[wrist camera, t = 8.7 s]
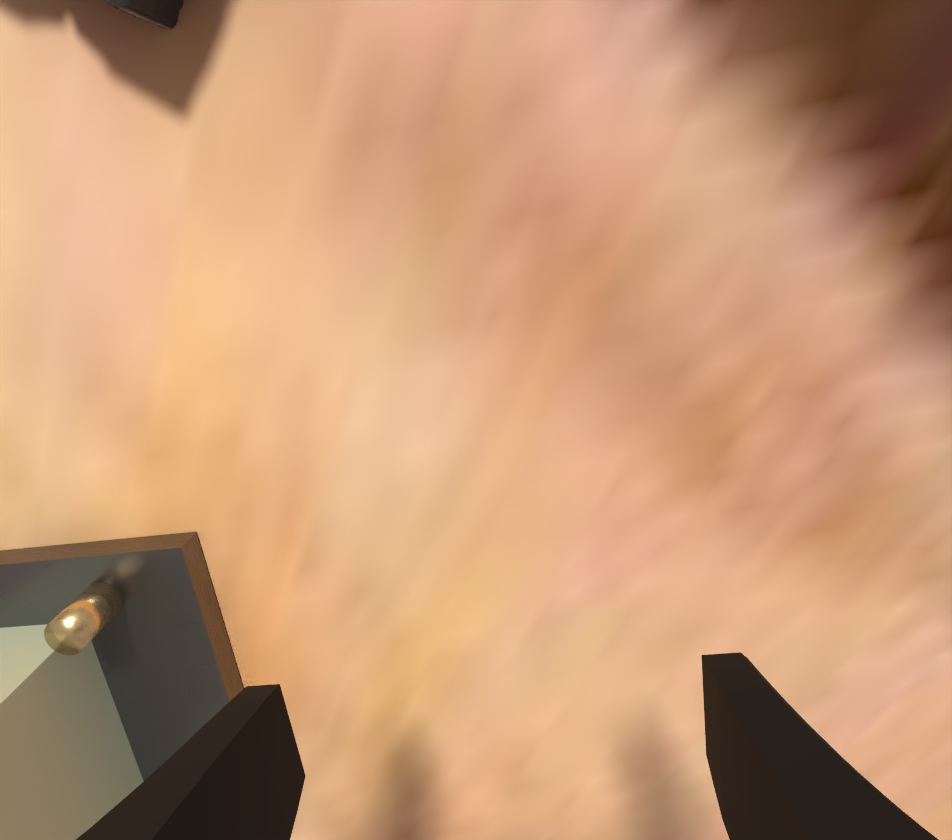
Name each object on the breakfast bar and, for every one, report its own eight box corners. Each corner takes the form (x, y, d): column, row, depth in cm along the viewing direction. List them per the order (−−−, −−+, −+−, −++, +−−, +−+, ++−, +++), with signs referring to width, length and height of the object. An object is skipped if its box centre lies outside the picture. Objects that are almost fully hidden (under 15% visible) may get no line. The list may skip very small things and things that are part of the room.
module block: (84, 621, 22) (-70, 772, 16) (154, 811, 25) (43, 1000, 19) (-30, 630, 23) (-217, 780, 17) (51, 816, 25) (-88, 1001, 19)
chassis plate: (289, 839, 26) (259, 919, 23) (-1, 851, 27) (-63, 929, 24) (196, 531, 22) (146, 584, 19) (-140, 564, 23) (-233, 617, 20)
